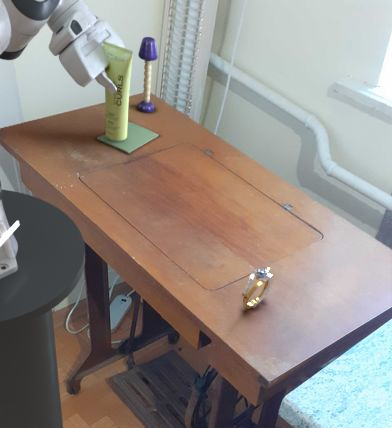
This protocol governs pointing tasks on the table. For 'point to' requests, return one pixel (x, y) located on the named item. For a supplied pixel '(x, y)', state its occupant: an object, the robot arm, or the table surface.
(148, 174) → the table surface
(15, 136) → the table surface
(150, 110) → the toy lamp
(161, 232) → the table surface
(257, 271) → the ring
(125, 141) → the mat
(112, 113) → the tube
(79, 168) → the table surface
